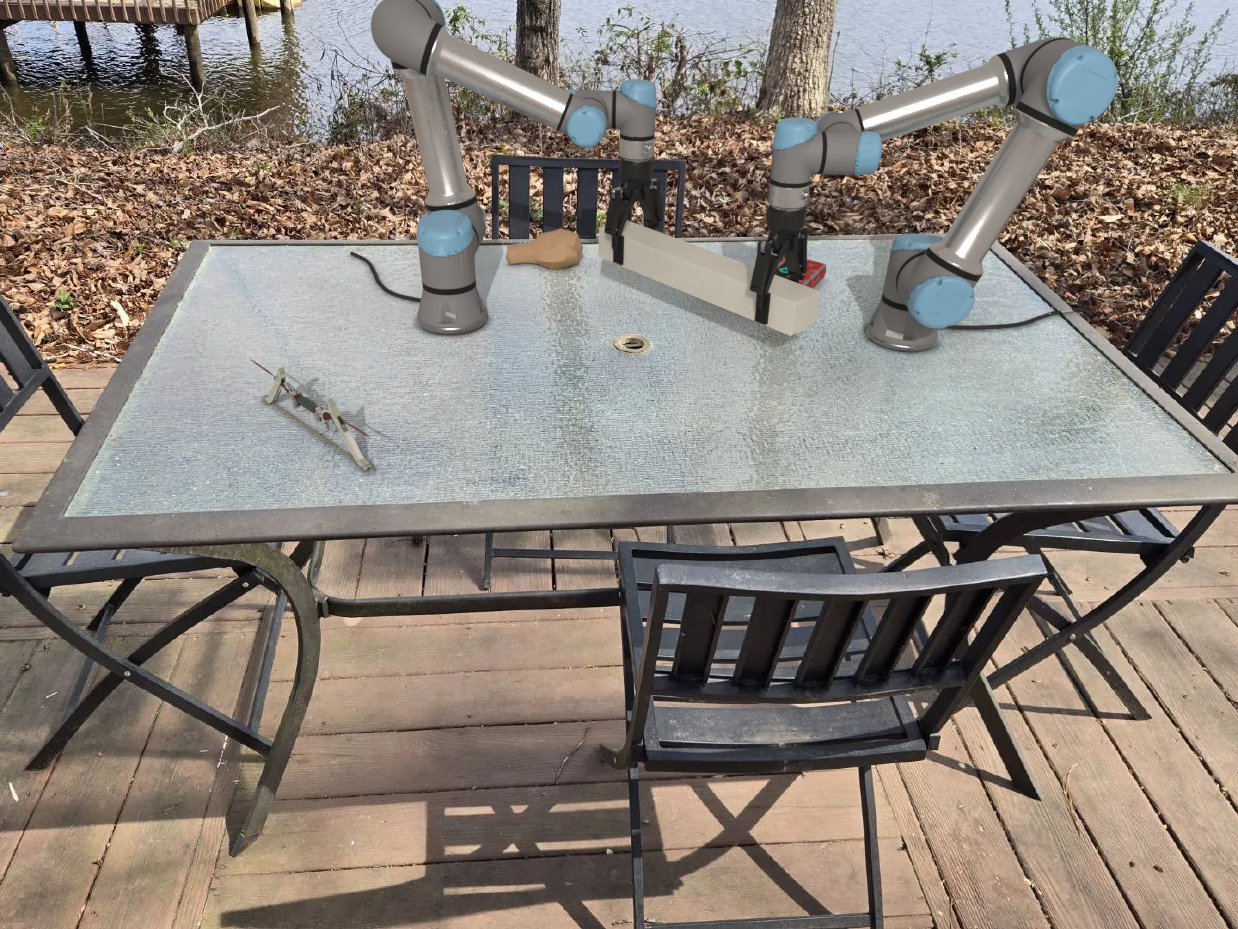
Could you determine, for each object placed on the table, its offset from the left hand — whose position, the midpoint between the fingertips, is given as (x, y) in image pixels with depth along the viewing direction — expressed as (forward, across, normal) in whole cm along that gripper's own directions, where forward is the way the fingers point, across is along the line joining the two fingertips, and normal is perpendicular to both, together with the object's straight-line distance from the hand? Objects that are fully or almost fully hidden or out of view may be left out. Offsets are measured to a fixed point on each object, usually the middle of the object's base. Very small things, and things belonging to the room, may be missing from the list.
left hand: (633, 258), depth 202 cm
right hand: (+1, +1, -40) cm, 41 cm away
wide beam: (+1, +1, -20) cm, 20 cm away
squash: (+11, 0, +32) cm, 34 cm away
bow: (+11, -84, -6) cm, 85 cm away
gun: (+11, +32, -17) cm, 37 cm away
